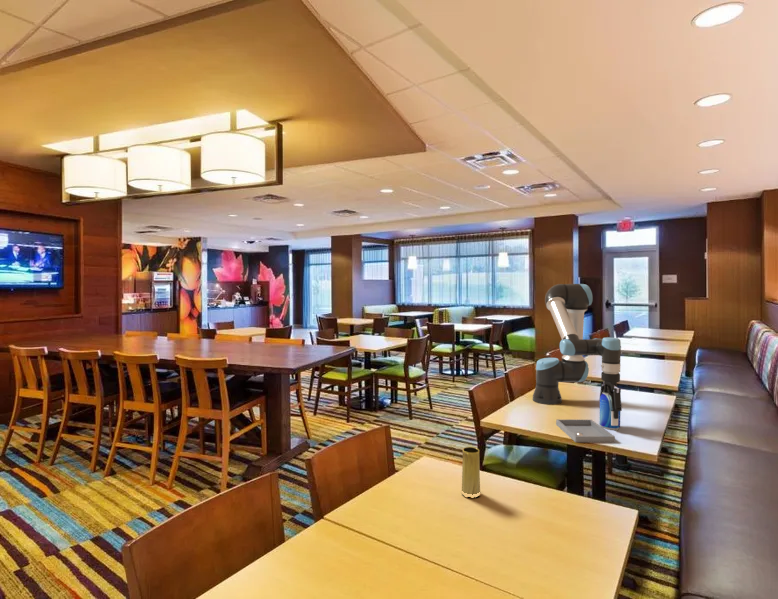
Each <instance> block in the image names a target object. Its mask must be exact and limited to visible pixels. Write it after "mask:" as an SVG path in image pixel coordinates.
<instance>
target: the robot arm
mask: <svg viewBox="0 0 778 599" xmlns="http://www.w3.org/2000/svg"><path fill="white" fill-rule="evenodd" d="M592 303H593V292H592V290H591V288H590V286H589V285H587V284H584V283H564V284H563V283H557V284H554V285H553V286H551V287H549V289H548V290H547V291H546V292H545V297H544V304H545V307H546V309H547V310H548V311H550V314H551V317H552V318H553V319H552V320H553V321H554V324H555V325H556V328H557V331H558V333H559V336H560V338H561V340H560V342H559V351H560V353H561V360H560V359H559V358H557V357H544V358H540V359H538V360H537V361H536V367H535V370H536V372H535V378H536V379H535V380H536V381H535V382H536V383H535V388H534V391H533V394H532V401H533V402H536V403H538V404H543V405H559V404H561V403H562V402H563V401H562V400H563V398H562V395H561V392H560V389H559V384H560V383H583V382H585V381H586V380H587V378H588V376H589V371H590V370H589V369H590V368H589V364H588V362H587V361H586V359H585V357H584V356H600V357H601V364H600V367H601V371H602V372H601V377H600V378H601V381H600V390H599V391H600V393H599V397H600V396H601V395H602V392H604V393H609V395H611V399H612V409H613V410H611V425H612V426H618V412H619V411H620V412H622V408H623V407H622V398H621V393H622V392H621V391H622V388H620V387H618V384H617V383H619V382H620V381H621V356H622V355H621V352H622V345H621V339H620V338H617V337H608V336H607V337H603V338H597V337H595V338H592V339H588V338H587V339H584V323H585V321H584V319H585V312H587V311H588V307H589V306H592ZM598 401H599V402H600V398H599V400H598Z"/></svg>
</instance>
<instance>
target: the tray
mask: <svg viewBox="0 0 778 599" xmlns="http://www.w3.org/2000/svg"><path fill="white" fill-rule="evenodd" d="M555 421H556V422H555V426H557V427H558V428H559V429H560V430H561V431H562V432H564V433H565V435H567V436H568V437H569V438H570V439H571V441H572V440H573V442H574V443H616V439H615V438H616V437H615V435H614V434H612V433H611V432H609V431H608V429H605V428H602V427H601V426H600V424H599V423H597V422H596V421H594V420H593V419H556V420H555ZM578 432H581V433H582V434H583V435H584V436H576V434H577V433H578Z"/></svg>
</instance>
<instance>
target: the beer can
mask: <svg viewBox="0 0 778 599" xmlns="http://www.w3.org/2000/svg"><path fill="white" fill-rule="evenodd" d="M599 399H600V401H599V421H598V422H599V423H598V425H600V426H601V427H602V428H604V429H605V430H610V431H611V430H613V431H618V430H619V429H620V428H621V411H619V412H618V426H612V425H611V410H613V409H612V399H611V395H609V393H604V392H602V395H601V396H600V395H599Z"/></svg>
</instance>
